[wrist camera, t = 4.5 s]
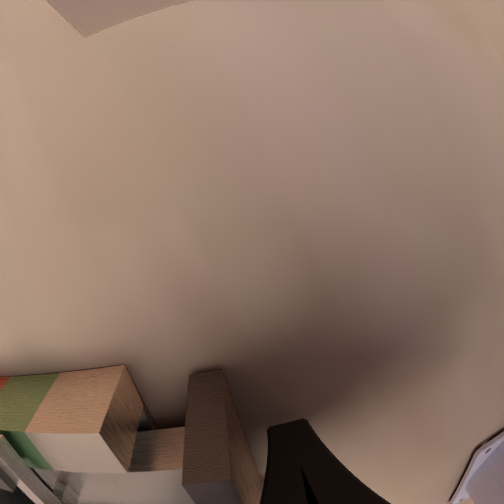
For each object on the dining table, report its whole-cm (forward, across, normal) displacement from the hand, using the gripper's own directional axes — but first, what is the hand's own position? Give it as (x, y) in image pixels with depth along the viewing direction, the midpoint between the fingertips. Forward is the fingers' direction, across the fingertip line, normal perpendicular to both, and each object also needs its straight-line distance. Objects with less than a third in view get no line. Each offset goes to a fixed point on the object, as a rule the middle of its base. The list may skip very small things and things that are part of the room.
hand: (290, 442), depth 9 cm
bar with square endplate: (+1, +5, 0) cm, 5 cm away
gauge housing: (+1, +7, 0) cm, 7 cm away
